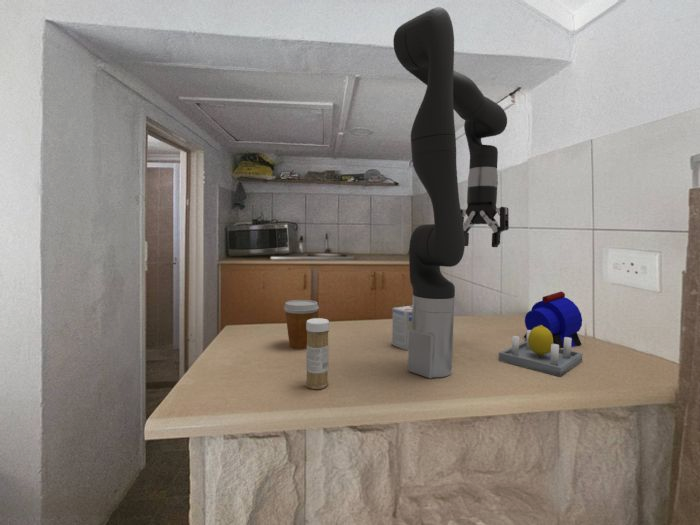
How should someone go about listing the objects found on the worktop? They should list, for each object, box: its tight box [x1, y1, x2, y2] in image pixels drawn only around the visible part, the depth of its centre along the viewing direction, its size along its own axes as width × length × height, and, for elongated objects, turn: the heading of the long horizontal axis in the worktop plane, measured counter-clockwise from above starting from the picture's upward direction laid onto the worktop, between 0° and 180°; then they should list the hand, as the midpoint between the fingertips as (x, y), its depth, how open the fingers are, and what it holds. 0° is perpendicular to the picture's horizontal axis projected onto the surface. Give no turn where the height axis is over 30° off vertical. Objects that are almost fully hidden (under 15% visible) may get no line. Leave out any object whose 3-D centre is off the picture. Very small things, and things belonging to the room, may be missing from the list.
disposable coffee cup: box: [283, 299, 320, 350], centre depth 100 cm, size 10×10×12 cm
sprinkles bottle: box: [305, 317, 330, 390], centre depth 73 cm, size 5×5×13 cm
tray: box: [498, 329, 583, 378], centre depth 91 cm, size 16×14×6 cm
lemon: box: [528, 325, 553, 357], centre depth 91 cm, size 6×6×8 cm
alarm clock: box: [523, 291, 583, 349], centre depth 109 cm, size 12×12×15 cm
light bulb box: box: [391, 305, 412, 351], centre depth 103 cm, size 11×7×11 cm, turn 123°
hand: (479, 246), depth 99 cm, fingers open, 8 cm apart
